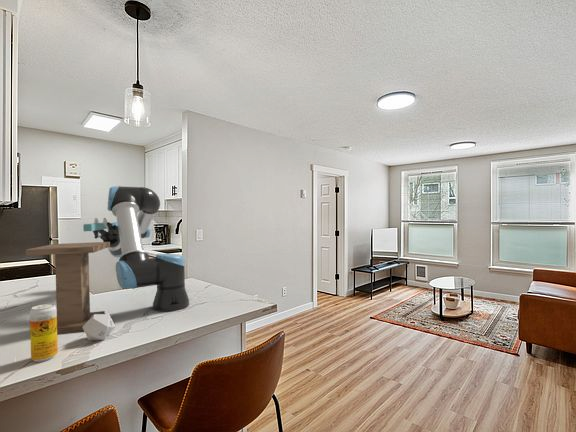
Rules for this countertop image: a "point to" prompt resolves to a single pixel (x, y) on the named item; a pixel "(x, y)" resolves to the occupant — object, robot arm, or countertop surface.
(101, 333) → the die
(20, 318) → the countertop surface
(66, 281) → the walnut pedestal
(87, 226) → the teal bar
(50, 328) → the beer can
